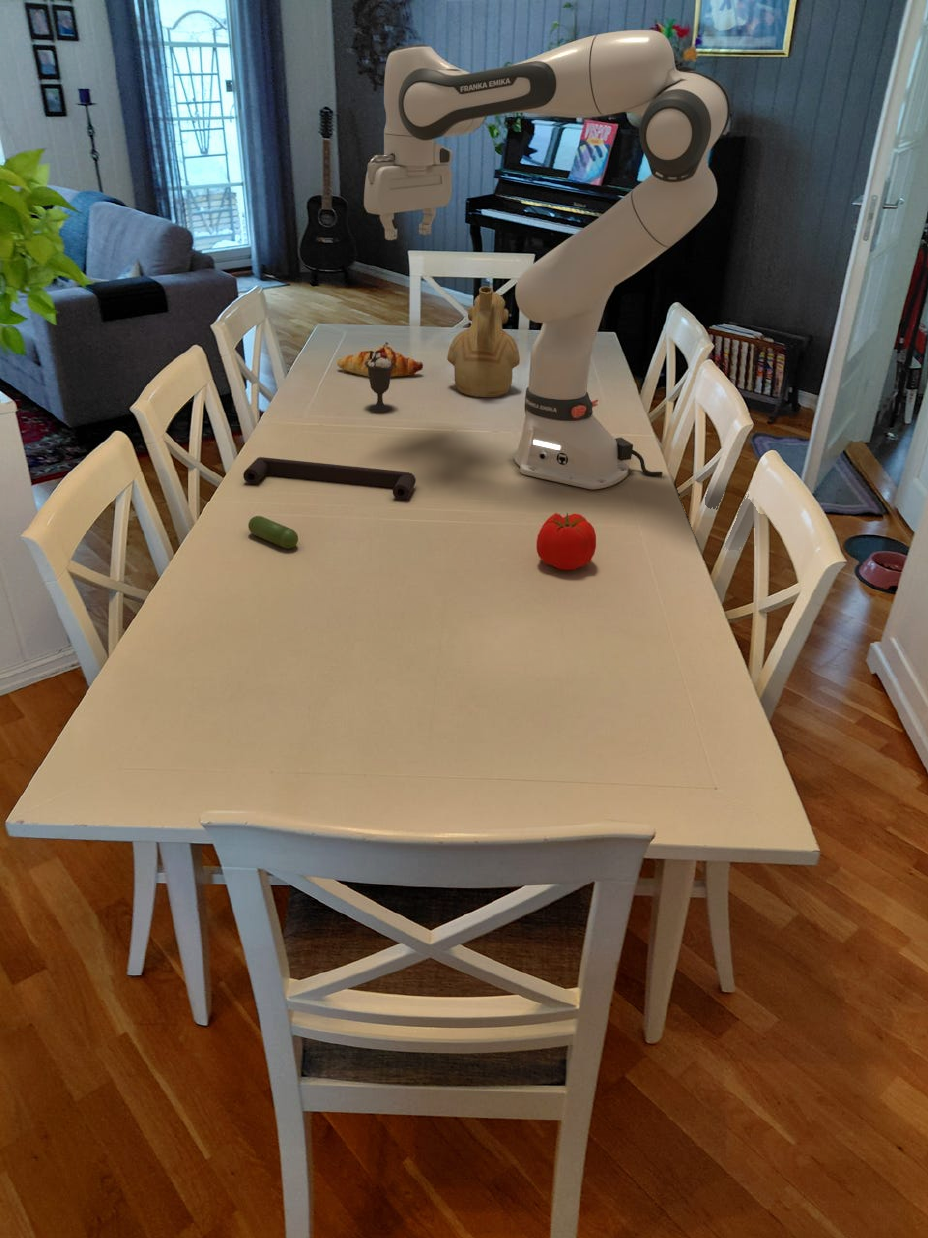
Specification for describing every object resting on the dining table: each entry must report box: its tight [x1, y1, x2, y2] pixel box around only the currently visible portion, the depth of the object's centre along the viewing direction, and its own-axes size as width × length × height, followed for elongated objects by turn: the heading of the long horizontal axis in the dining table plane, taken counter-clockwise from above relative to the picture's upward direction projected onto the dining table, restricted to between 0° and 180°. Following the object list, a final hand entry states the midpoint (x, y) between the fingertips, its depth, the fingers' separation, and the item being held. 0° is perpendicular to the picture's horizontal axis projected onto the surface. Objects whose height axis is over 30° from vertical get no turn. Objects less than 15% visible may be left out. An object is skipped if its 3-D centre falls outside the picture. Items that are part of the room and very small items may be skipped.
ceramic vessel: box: [446, 286, 521, 398], centre depth 215 cm, size 17×20×25 cm
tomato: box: [535, 512, 597, 571], centre depth 145 cm, size 9×9×8 cm
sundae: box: [364, 341, 396, 414], centre depth 203 cm, size 7×7×15 cm
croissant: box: [337, 345, 424, 378], centre depth 228 cm, size 21×10×8 cm, turn 87°
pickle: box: [247, 515, 299, 550], centre depth 149 cm, size 10×3×3 cm, turn 52°
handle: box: [242, 456, 417, 501], centre depth 168 cm, size 30×6×3 cm, turn 81°
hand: (408, 236), depth 171 cm, fingers open, 8 cm apart
